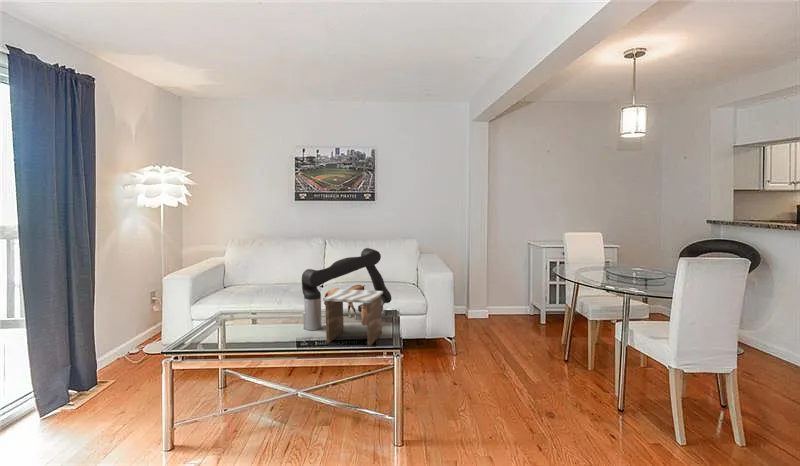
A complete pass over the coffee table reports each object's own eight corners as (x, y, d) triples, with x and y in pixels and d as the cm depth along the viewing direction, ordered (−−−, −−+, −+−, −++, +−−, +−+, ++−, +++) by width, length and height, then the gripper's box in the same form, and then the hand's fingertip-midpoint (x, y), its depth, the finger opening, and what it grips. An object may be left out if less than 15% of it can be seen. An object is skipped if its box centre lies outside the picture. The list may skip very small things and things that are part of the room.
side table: (324, 343, 243) (323, 298, 241) (340, 330, 264) (339, 289, 262) (371, 346, 237) (370, 300, 235) (383, 333, 258) (383, 291, 256)
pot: (359, 325, 274) (359, 299, 272) (363, 321, 280) (362, 296, 279) (370, 325, 272) (370, 299, 271) (374, 322, 279) (373, 297, 277)
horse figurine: (367, 318, 288) (366, 284, 286) (359, 321, 281) (359, 287, 279) (326, 312, 303) (325, 280, 301) (318, 315, 296) (317, 282, 294)
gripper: (364, 297, 292) (355, 304, 277) (386, 298, 289) (378, 305, 273) (364, 309, 293) (355, 316, 277) (386, 310, 290) (378, 318, 274)
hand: (366, 311), depth 275 cm, fingers open, 8 cm apart
